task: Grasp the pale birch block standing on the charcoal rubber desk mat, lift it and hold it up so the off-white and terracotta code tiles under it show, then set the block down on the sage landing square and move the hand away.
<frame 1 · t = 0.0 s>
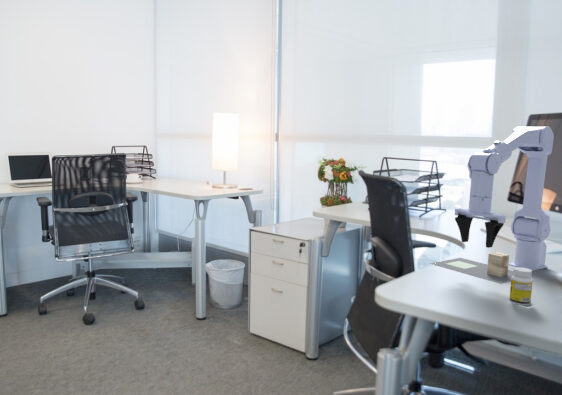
hand: (476, 244, 138), 10 cm above the table, tool pointing down, fingers open, 7 cm apart
code mat: (478, 270, 149), on the table
birch block: (497, 274, 144), resting on code mat
supplement bottle: (519, 303, 120), on the table
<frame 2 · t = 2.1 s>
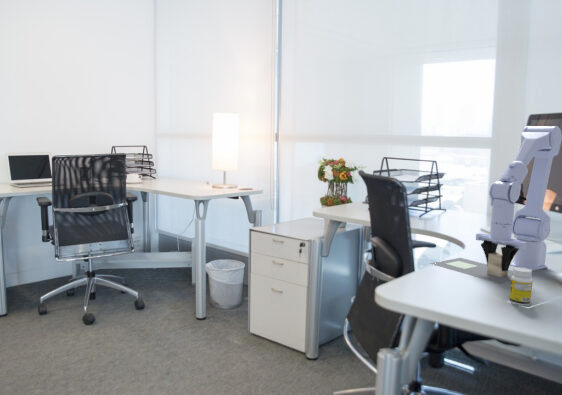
hand: (497, 268, 143), 2 cm above the table, tool pointing down, fingers closed on birch block, 4 cm apart
birch block: (497, 274, 144), resting on code mat, touching gripper
everything else where it was.
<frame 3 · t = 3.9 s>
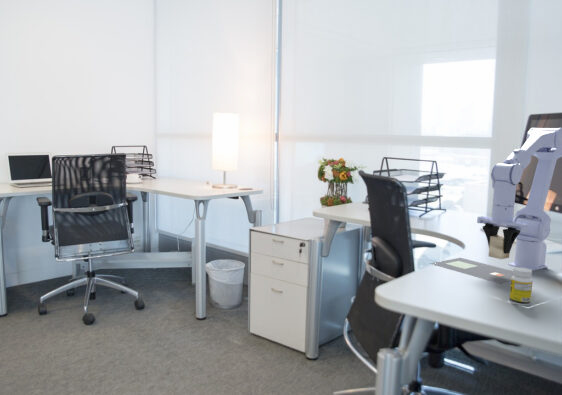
hand: (499, 251, 143), 7 cm above the table, tool pointing down, fingers closed on birch block, 4 cm apart
birch block: (498, 257, 143), point 6 cm above the table, touching gripper
everything else where it was.
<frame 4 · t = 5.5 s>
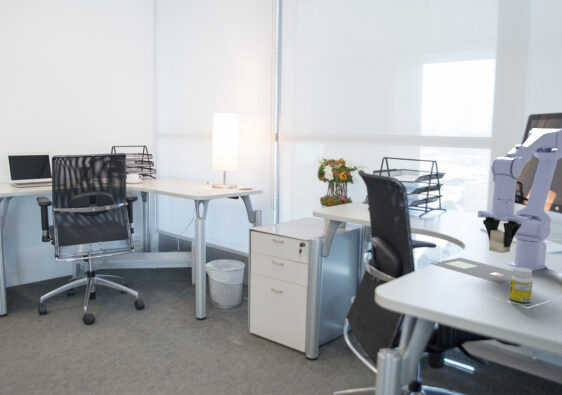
hand: (499, 245, 143), 9 cm above the table, tool pointing down, fingers closed on birch block, 4 cm apart
birch block: (499, 251, 143), point 7 cm above the table, touching gripper
everything else where it was.
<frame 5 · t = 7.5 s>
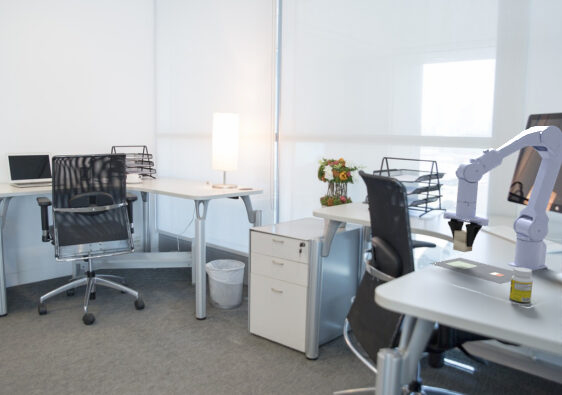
hand: (463, 244, 153), 7 cm above the table, tool pointing down, fingers closed on birch block, 4 cm apart
birch block: (462, 250, 153), point 5 cm above the table, touching gripper
everything else where it was.
when the fingers open (3 cm above the table, at t = 9.0 s): birch block drops 1 cm, resting on code mat.
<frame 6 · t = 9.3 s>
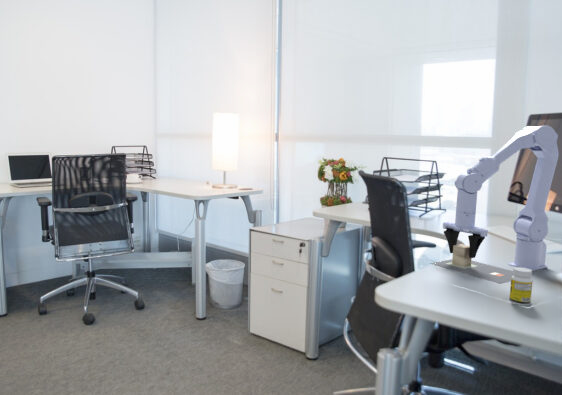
hand: (462, 255, 153), 3 cm above the table, tool pointing down, fingers open, 6 cm apart
birch block: (461, 264, 153), resting on code mat
everything else where it was.
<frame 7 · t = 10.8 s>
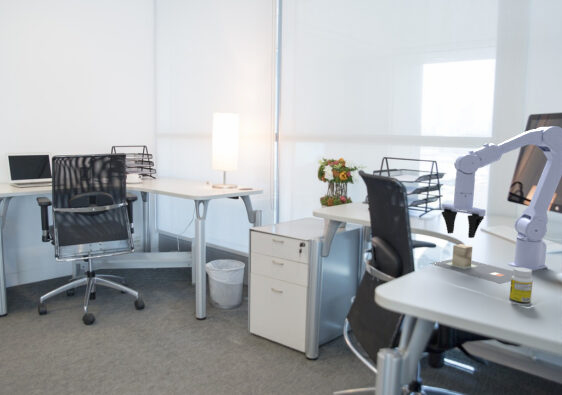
hand: (460, 235, 156), 9 cm above the table, tool pointing down, fingers open, 7 cm apart
nothing on the table moved.
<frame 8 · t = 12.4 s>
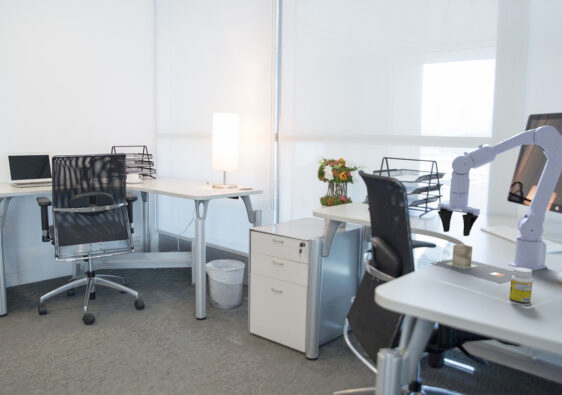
hand: (456, 233, 162), 8 cm above the table, tool pointing down, fingers open, 7 cm apart
nothing on the table moved.
at the end: birch block inside the target area (0.1 cm from its centre), resting on code mat; birch block tilted 0°; the gripper is holding nothing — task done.
